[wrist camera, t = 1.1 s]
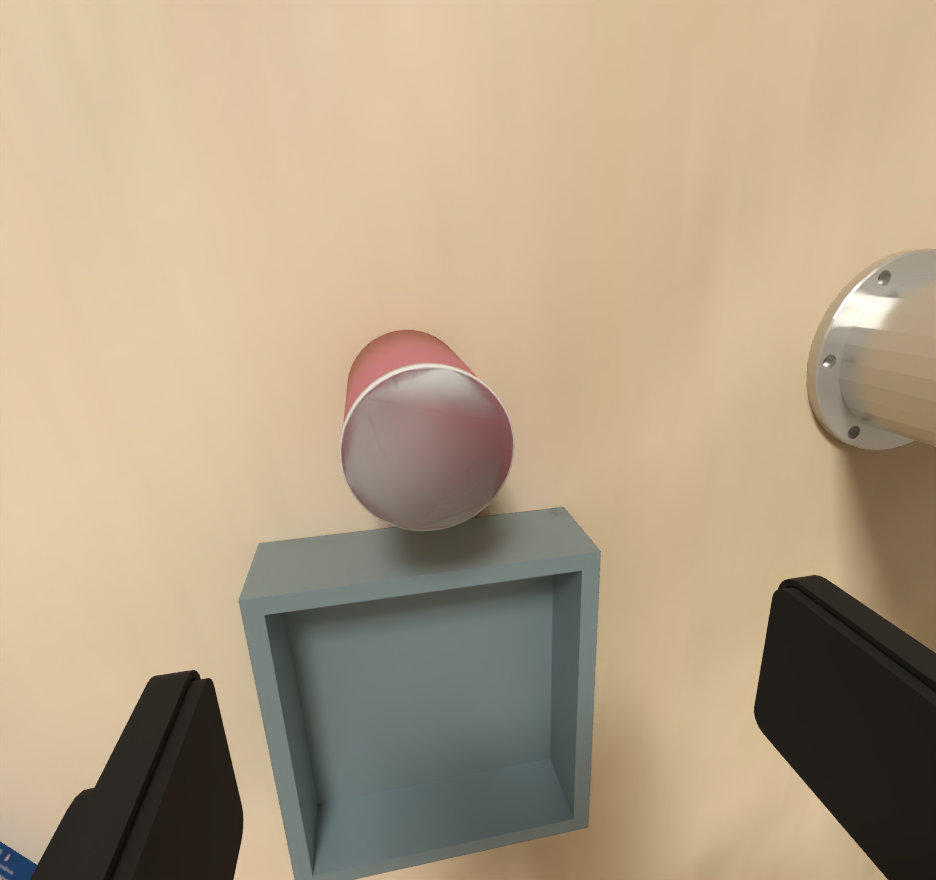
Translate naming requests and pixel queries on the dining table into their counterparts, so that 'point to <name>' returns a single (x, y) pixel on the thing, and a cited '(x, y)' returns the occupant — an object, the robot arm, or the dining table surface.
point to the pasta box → (14, 865)
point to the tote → (426, 688)
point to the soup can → (422, 434)
